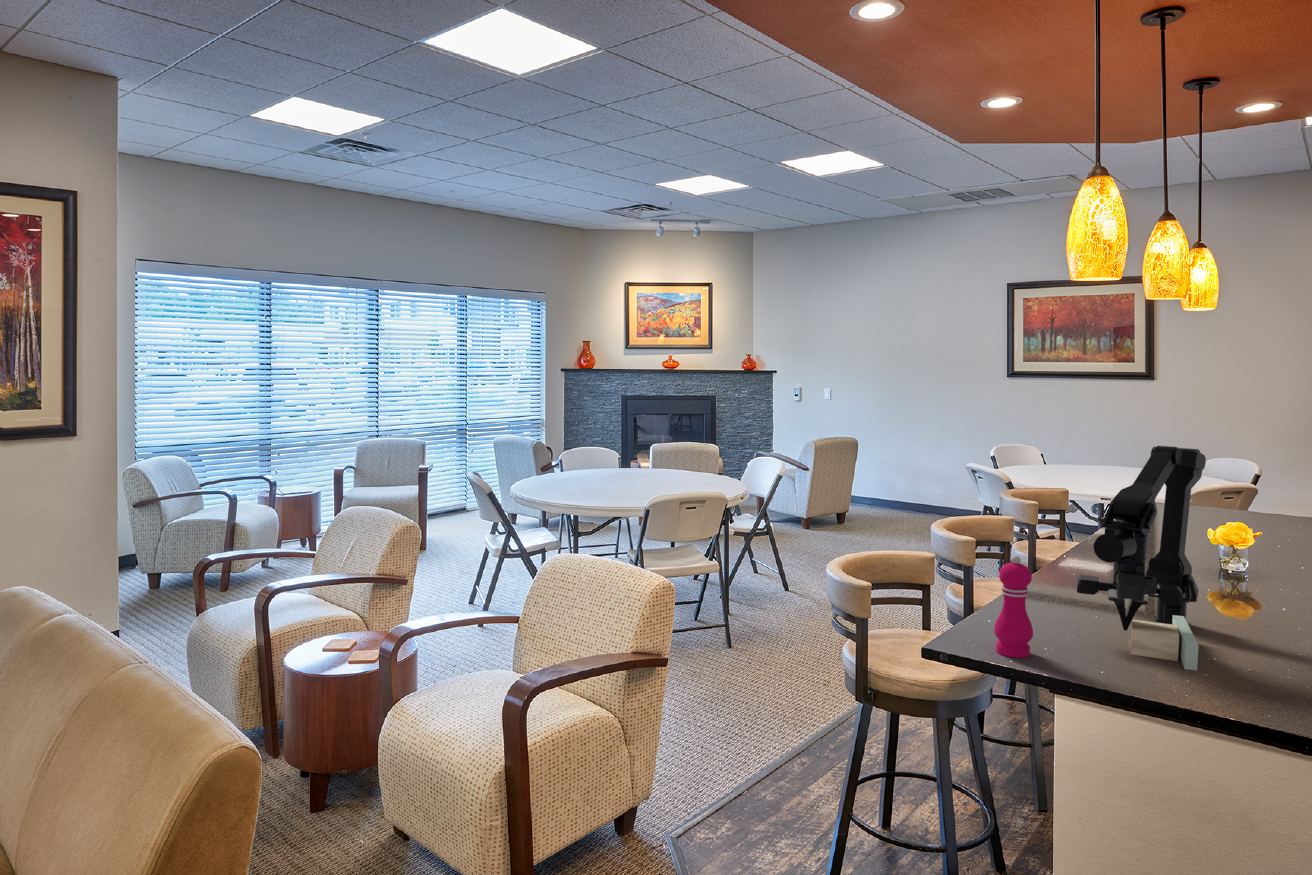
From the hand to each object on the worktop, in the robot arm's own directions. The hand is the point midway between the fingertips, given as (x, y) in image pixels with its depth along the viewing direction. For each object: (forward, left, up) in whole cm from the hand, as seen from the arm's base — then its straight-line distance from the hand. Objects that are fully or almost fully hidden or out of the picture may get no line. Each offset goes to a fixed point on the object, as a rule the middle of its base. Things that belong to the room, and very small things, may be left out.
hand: (1125, 630), depth 171 cm
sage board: (+1, +10, -3) cm, 11 cm away
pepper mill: (+15, -21, -3) cm, 26 cm away
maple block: (+2, +5, -3) cm, 6 cm away
